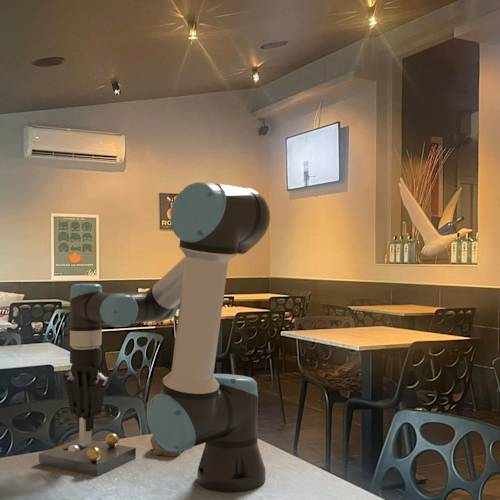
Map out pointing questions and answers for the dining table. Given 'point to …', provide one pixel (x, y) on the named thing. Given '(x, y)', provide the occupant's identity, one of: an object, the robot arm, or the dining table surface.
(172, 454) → the stone
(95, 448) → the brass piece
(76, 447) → the steel ball
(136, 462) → the dining table surface
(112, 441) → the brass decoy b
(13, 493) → the dining table surface
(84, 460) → the plate
